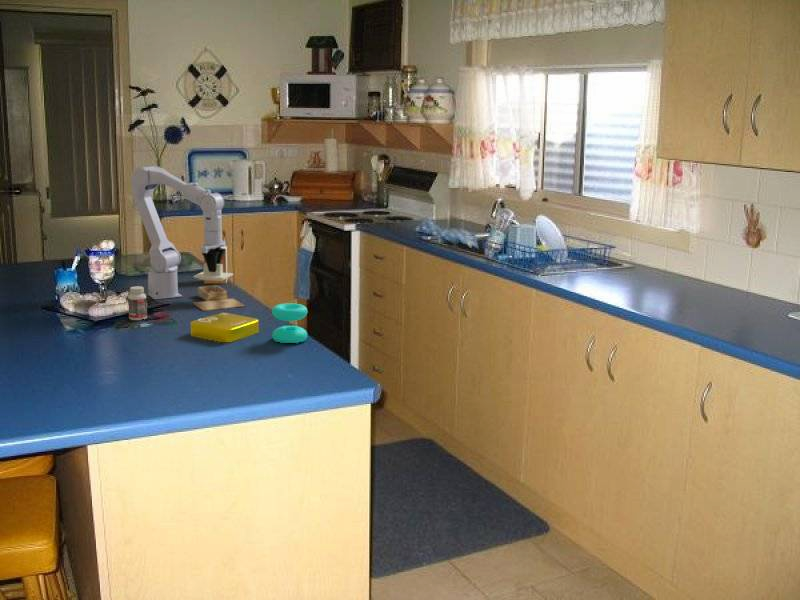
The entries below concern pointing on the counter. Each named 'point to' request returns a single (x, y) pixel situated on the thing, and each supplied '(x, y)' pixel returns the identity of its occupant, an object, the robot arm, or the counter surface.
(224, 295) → the box
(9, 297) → the counter surface
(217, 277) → the lid
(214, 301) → the mat
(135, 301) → the pill bottle
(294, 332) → the donuts
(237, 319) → the element tile
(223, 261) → the small box
